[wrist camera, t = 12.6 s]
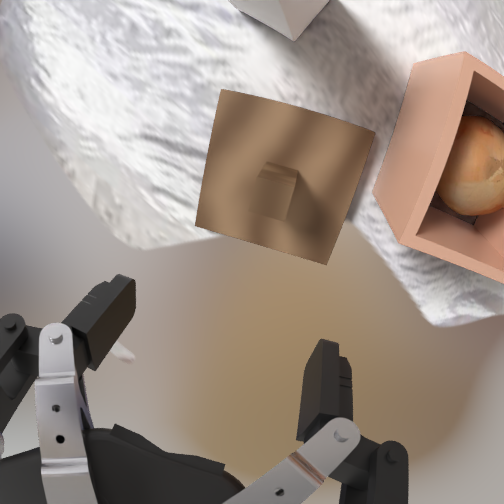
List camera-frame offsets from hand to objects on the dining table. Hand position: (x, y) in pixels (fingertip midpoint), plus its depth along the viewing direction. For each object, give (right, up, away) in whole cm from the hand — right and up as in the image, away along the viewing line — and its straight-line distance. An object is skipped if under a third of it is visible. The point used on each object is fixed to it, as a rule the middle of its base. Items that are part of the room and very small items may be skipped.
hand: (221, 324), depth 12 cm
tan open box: (+23, +13, +14) cm, 30 cm away
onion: (+23, +13, +15) cm, 30 cm away
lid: (+4, +11, +19) cm, 22 cm away
